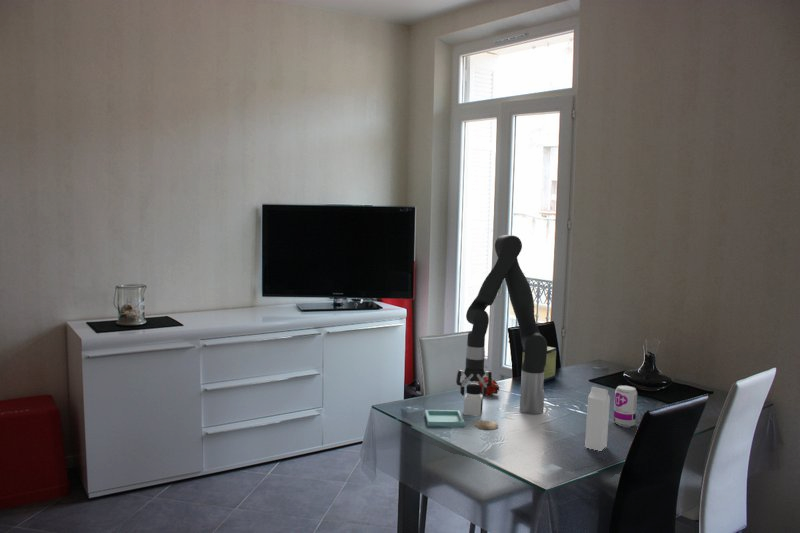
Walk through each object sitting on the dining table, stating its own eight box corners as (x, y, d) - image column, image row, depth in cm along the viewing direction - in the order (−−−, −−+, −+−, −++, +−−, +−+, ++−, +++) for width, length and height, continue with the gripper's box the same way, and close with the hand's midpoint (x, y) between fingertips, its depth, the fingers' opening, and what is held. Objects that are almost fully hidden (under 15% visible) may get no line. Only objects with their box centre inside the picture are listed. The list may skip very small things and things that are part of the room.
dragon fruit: (478, 393, 304) (497, 404, 296) (469, 386, 299) (488, 396, 290) (487, 378, 306) (507, 388, 297) (479, 370, 301) (498, 380, 292)
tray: (459, 415, 269) (459, 410, 269) (464, 427, 255) (464, 422, 255) (425, 414, 268) (425, 409, 268) (428, 426, 254) (428, 421, 254)
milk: (590, 443, 242) (594, 384, 240) (607, 447, 239) (611, 388, 237) (584, 448, 238) (588, 388, 235) (601, 452, 234) (605, 391, 232)
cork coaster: (495, 421, 262) (495, 420, 262) (500, 430, 253) (500, 428, 253) (473, 421, 262) (473, 420, 262) (476, 429, 253) (476, 428, 253)
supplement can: (624, 429, 258) (627, 391, 257) (608, 422, 266) (611, 386, 264) (639, 426, 262) (642, 389, 261) (623, 419, 270) (626, 384, 268)
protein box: (555, 378, 329) (557, 347, 328) (539, 384, 318) (541, 352, 316) (536, 373, 336) (538, 343, 335) (520, 379, 325) (522, 348, 323)
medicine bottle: (480, 416, 268) (482, 387, 267) (463, 414, 269) (464, 386, 268) (482, 411, 275) (483, 383, 274) (465, 409, 276) (466, 381, 275)
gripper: (490, 355, 274) (488, 393, 276) (456, 354, 273) (454, 392, 275) (494, 359, 266) (492, 398, 268) (459, 358, 266) (457, 397, 267)
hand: (473, 395), depth 271 cm, fingers open, 8 cm apart
